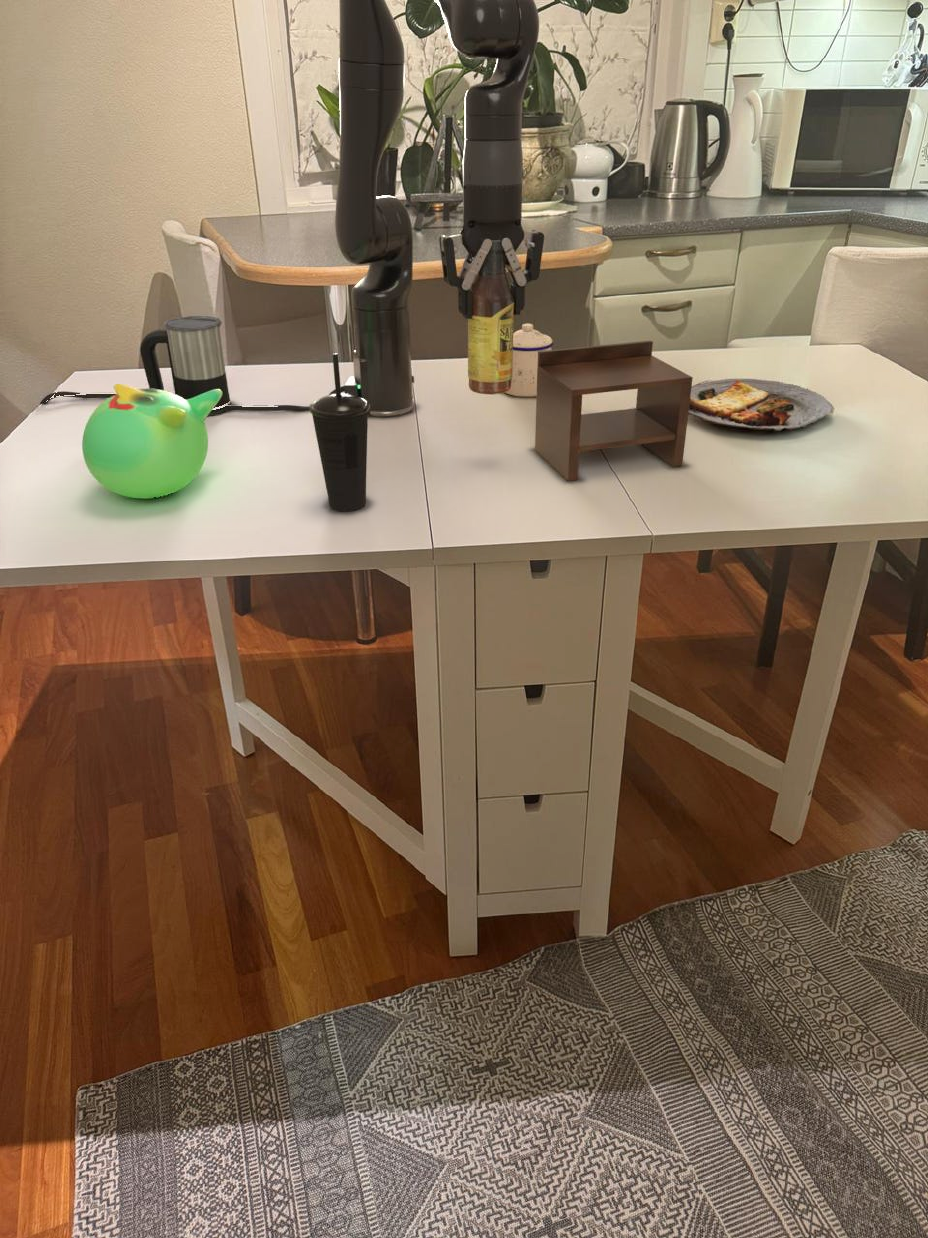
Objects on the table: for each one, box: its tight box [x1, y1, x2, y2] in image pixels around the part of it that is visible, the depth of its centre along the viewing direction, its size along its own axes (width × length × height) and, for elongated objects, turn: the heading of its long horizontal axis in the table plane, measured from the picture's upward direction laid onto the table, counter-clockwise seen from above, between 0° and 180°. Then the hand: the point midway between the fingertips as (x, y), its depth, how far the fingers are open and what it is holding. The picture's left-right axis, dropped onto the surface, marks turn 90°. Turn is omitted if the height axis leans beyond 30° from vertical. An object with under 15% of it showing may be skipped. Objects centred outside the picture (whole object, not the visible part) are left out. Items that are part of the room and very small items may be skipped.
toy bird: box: [81, 383, 222, 499], centre depth 123 cm, size 18×17×15 cm
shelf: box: [534, 340, 694, 482], centre depth 132 cm, size 18×13×15 cm
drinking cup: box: [308, 353, 370, 513], centre depth 117 cm, size 8×8×20 cm
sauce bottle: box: [467, 240, 515, 395], centre depth 124 cm, size 7×6×20 cm
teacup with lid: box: [504, 323, 554, 398], centre depth 162 cm, size 12×9×12 cm
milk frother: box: [139, 315, 233, 417], centre depth 151 cm, size 14×16×15 cm
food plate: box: [688, 378, 835, 432], centre depth 151 cm, size 25×23×4 cm
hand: (491, 315), depth 124 cm, fingers closed on sauce bottle, 6 cm apart
